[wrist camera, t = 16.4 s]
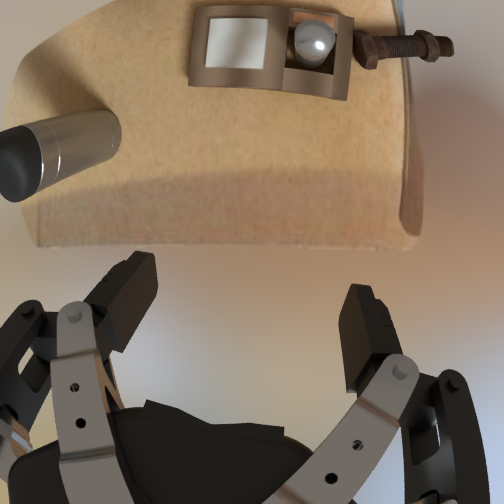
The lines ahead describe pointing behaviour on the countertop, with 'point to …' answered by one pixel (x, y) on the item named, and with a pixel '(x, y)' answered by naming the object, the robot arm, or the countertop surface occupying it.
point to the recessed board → (264, 50)
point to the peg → (313, 42)
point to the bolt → (399, 47)
